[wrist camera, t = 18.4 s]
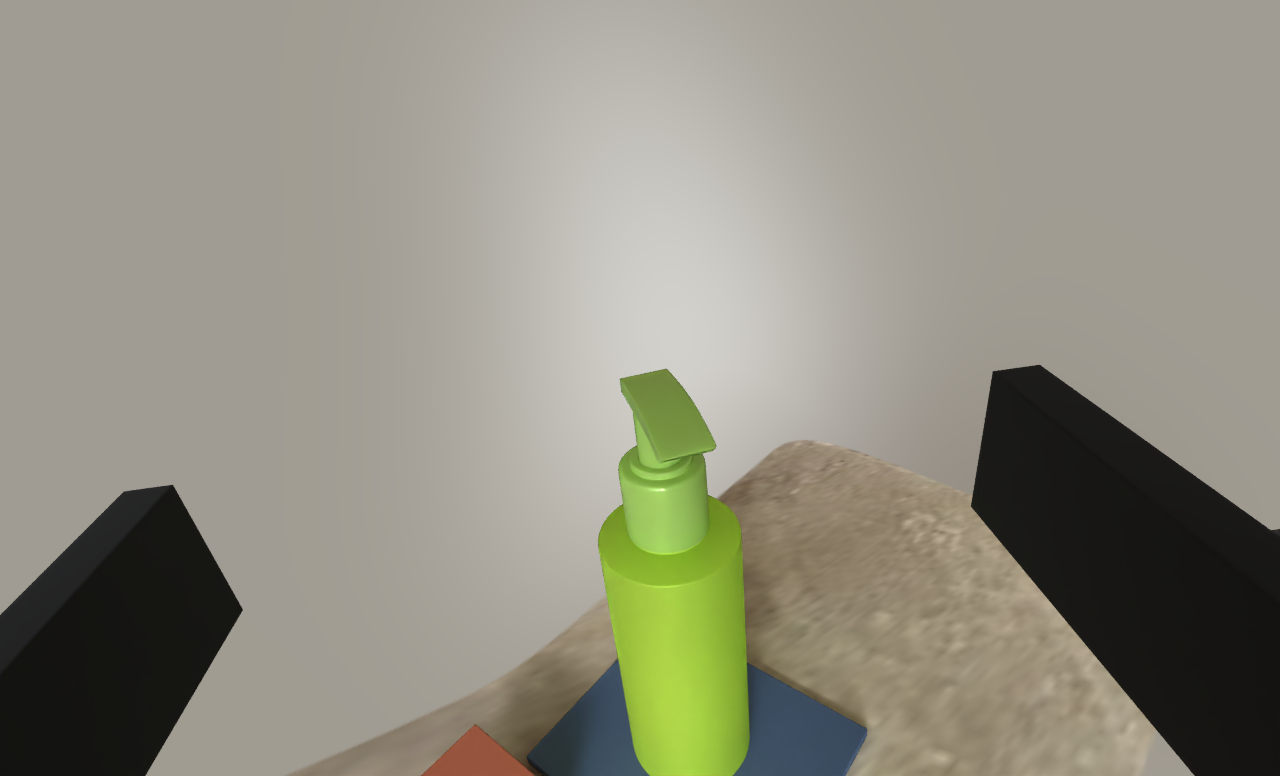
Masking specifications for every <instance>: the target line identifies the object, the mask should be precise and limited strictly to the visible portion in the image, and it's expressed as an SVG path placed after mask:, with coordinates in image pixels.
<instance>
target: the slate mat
mask: <svg viewBox="0 0 1280 776" xmlns="http://www.w3.org/2000/svg"><path fill="white" fill-rule="evenodd" d="M747 681H748V705H749V729H750V741H749V748H748V751H747V754H746V757H745V759H744V761H743V763H742V765H741V766H740V768H739V769H738V770H737V771H736V772H735V773H734V775H732V776H846V774H847V772H848V770H849V768H850V766H851V764H852V762H853V760H854V759H855V757H856V755H857V753H858V751H859V749H860V747H861V745H862V743H863V742H864V740H865V738H866V736H867V729H866V728H864V727H863V726H861V725H859V724H857V723H855V722H854V721H852V720H850V719H848V718H846V717H845V716H843V715H841V714H839V713H837V712H835V711H834V710H832V709H830V708H828V707H826V706H825V705H823V704H821V703H819V702H817V701H816V700H814V699H812V698H810V697H808V696H807V695H805V694H803V693H801V692H799V691H798V690H796V689H794V688H792V687H790V686H789V685H787V684H785V683H783V682H781V681H779V680H778V679H776V678H774V677H772V676H770V675H769V674H767V673H765V672H763V671H761V670H760V669H758V668H756V667H754V666H752V665H751V664H749V663H747ZM527 759H528V762H529V763H530V764H531V765H532V766H534V767H535V768H536V769H537V770H538V771H539V772H541V773H542V774H543V775H544V776H650V775H649V774H648V773H647V772H646V771H645V770H644V768H643V767H642V766H641V764H640V762H639V760H638V758H637V756H636V753H635V750H634V746H633V740H632V735H631V729H630V723H629V718H628V712H627V706H626V701H625V695H624V689H623V684H622V678H621V672H620V667H619V661H618V660H617V661H616V662H615V663H614V664H613V665H612V666H611V667H610V668H609V669H608V670H607V671H606V672H605V673H604V675H603V676H602V677H601V678H600V679H599V680H598V681H597V682H596V683H595V684H594V685H593V686H592V687H591V688H590V689H589V691H588V692H587V693H586V694H585V695H584V696H583V697H582V698H581V699H580V700H579V701H578V702H577V703H576V704H575V705H574V706H573V708H572V709H571V710H570V711H569V712H568V713H567V714H566V715H565V716H564V717H563V718H562V719H561V720H560V721H559V722H558V723H557V725H556V726H555V727H554V728H553V729H552V730H551V731H550V732H549V733H548V734H547V735H546V736H545V737H544V738H543V739H542V740H541V742H540V743H539V744H538V745H537V746H536V747H535V748H534V749H533V750H532V751H531V752H530V753H529V754H528V755H527Z"/></svg>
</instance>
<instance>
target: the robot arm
mask: <svg viewBox="0 0 1280 776" xmlns="http://www.w3.org/2000/svg"><path fill="white" fill-rule="evenodd" d="M971 507H972V508H973V510H974V511H975V512H976V513H977V514H978V516H979V517H980V518H981V519H982V520H983V522H984V523H985V524H986V525H987V526H988V528H989V529H990V530H991V531H992V532H993V534H994V535H995V536H996V537H997V538H998V540H999V541H1000V542H1001V543H1002V544H1003V546H1004V547H1005V548H1006V549H1007V550H1008V552H1009V553H1010V554H1011V555H1012V556H1013V558H1014V559H1015V560H1016V561H1017V562H1018V564H1019V565H1020V566H1021V567H1022V569H1023V570H1024V571H1025V572H1026V573H1027V575H1028V576H1029V577H1030V578H1031V579H1032V581H1033V582H1034V583H1035V584H1036V585H1037V587H1038V588H1039V589H1040V590H1041V591H1042V593H1043V594H1044V595H1045V596H1046V597H1047V599H1048V600H1049V601H1050V602H1051V603H1052V605H1053V606H1054V607H1055V608H1056V609H1057V611H1058V612H1059V613H1060V614H1061V615H1062V617H1063V618H1064V619H1065V620H1066V621H1067V623H1068V624H1069V625H1070V626H1071V627H1072V629H1073V630H1074V631H1075V632H1076V634H1077V635H1078V636H1079V637H1080V638H1081V640H1082V641H1083V642H1084V643H1085V644H1086V646H1087V647H1088V648H1089V649H1090V650H1091V652H1092V653H1093V654H1094V655H1095V656H1096V658H1097V659H1098V660H1099V661H1100V662H1101V664H1102V665H1103V666H1104V667H1105V668H1106V670H1107V671H1108V672H1109V673H1110V674H1111V676H1112V677H1113V678H1114V679H1115V680H1116V682H1117V683H1118V684H1119V685H1120V686H1121V688H1122V689H1123V690H1124V691H1125V692H1126V694H1127V695H1128V696H1129V697H1130V699H1131V700H1132V701H1133V702H1134V703H1135V705H1136V706H1137V707H1138V708H1139V709H1140V711H1141V712H1142V713H1143V714H1144V715H1145V717H1146V718H1147V719H1148V720H1149V721H1150V723H1151V724H1152V725H1153V726H1154V727H1155V729H1156V730H1157V731H1158V732H1159V733H1160V735H1161V736H1162V737H1163V738H1164V739H1165V741H1166V742H1167V743H1168V744H1169V745H1170V747H1171V748H1172V749H1173V750H1174V751H1175V753H1176V754H1177V755H1178V756H1179V757H1180V759H1181V760H1182V761H1183V762H1184V764H1185V765H1186V766H1187V767H1188V768H1189V770H1190V771H1191V772H1192V773H1193V774H1194V775H1195V776H1280V529H1278V530H1270V529H1268V528H1267V527H1266V526H1264V525H1262V524H1261V523H1260V522H1258V521H1257V520H1256V519H1254V518H1253V517H1252V516H1250V515H1249V514H1247V513H1246V512H1245V511H1243V510H1242V509H1240V508H1239V507H1238V506H1236V505H1235V504H1233V503H1232V502H1231V501H1229V500H1228V499H1226V498H1225V497H1223V496H1222V495H1221V494H1219V493H1218V492H1217V491H1215V490H1214V489H1212V488H1211V487H1209V486H1208V485H1207V484H1205V483H1204V482H1203V481H1201V480H1200V479H1198V478H1197V477H1196V476H1194V475H1193V474H1191V473H1190V472H1189V471H1187V470H1186V469H1184V468H1183V467H1182V466H1180V465H1179V464H1177V463H1176V462H1175V461H1173V460H1172V459H1170V458H1169V457H1168V456H1166V455H1165V454H1163V453H1162V452H1161V451H1159V450H1158V449H1157V448H1155V447H1154V446H1152V445H1151V444H1150V443H1148V442H1147V441H1145V440H1144V439H1143V438H1141V437H1140V436H1138V435H1137V434H1136V433H1134V432H1133V431H1131V430H1130V429H1129V428H1127V427H1126V426H1124V425H1123V424H1122V423H1120V422H1119V421H1117V420H1116V419H1115V418H1113V417H1112V416H1110V415H1109V414H1108V413H1106V412H1105V411H1103V410H1102V409H1101V408H1099V407H1098V406H1096V405H1095V404H1093V403H1092V402H1091V401H1089V400H1088V399H1087V398H1085V397H1084V396H1082V395H1081V394H1080V393H1078V392H1077V391H1075V390H1074V389H1073V388H1071V387H1070V386H1068V385H1067V384H1065V383H1064V382H1063V381H1061V380H1060V379H1059V378H1057V377H1056V376H1054V375H1053V374H1052V373H1050V372H1049V371H1048V370H1046V369H1045V368H1043V367H1042V366H1041V365H1035V366H1029V367H1021V368H1013V369H1006V370H1000V371H993V374H992V380H991V386H990V392H989V398H988V405H987V411H986V417H985V423H984V429H983V436H982V442H981V449H980V454H979V460H978V466H977V472H976V478H975V485H974V491H973V497H972V503H971ZM242 610H243V609H242V607H241V606H240V604H239V602H238V600H237V598H236V597H235V595H234V593H233V591H232V590H231V588H230V586H229V585H228V582H227V581H226V579H225V577H224V575H223V573H222V572H221V570H220V568H219V566H218V565H217V563H216V561H215V559H214V557H213V556H212V554H211V552H210V550H209V548H208V547H207V545H206V543H205V541H204V539H203V538H202V536H201V534H200V532H199V531H198V529H197V527H196V525H195V523H194V522H193V520H192V518H191V516H190V515H189V513H188V511H187V509H186V507H185V506H184V504H183V502H182V500H181V498H180V497H179V495H178V493H177V491H176V490H175V488H174V486H173V485H169V486H161V487H154V488H146V489H140V490H132V491H125V492H123V493H122V494H121V495H120V496H119V497H118V498H117V499H116V500H115V501H114V502H113V503H112V504H111V505H110V506H109V507H108V508H107V509H106V510H105V511H104V512H103V513H102V514H101V515H100V516H99V517H98V518H97V519H96V520H95V521H94V522H93V523H92V524H91V525H90V526H89V527H88V528H87V529H86V530H85V531H84V532H83V533H82V534H81V535H80V536H79V537H78V538H77V539H76V540H75V541H74V542H73V543H72V544H71V545H70V546H69V547H68V548H67V549H66V550H65V551H64V552H63V553H62V554H61V555H60V556H59V557H58V558H57V559H56V560H55V561H54V562H53V563H52V564H51V565H50V566H49V567H48V568H47V569H46V570H45V571H44V572H43V573H42V574H41V575H40V576H39V577H38V578H37V579H36V580H35V581H34V582H33V583H32V584H31V585H30V586H29V587H28V588H27V589H26V590H25V591H24V592H23V593H22V594H21V595H20V596H19V597H18V598H17V599H16V600H15V601H14V602H13V603H12V604H11V605H10V606H9V607H8V608H7V609H6V610H5V611H4V612H3V613H2V614H1V615H0V776H145V775H146V774H147V772H148V770H149V768H150V767H151V765H152V763H153V762H154V760H155V758H156V757H157V755H158V753H159V752H160V750H161V748H162V746H163V745H164V743H165V741H166V740H167V738H168V736H169V735H170V733H171V731H172V730H173V728H174V726H175V724H176V723H177V721H178V719H179V718H180V716H181V714H182V713H183V711H184V709H185V707H186V706H187V704H188V702H189V700H190V699H191V697H192V695H193V694H194V692H195V690H196V689H197V687H198V685H199V683H200V682H201V680H202V678H203V677H204V675H205V673H206V672H207V670H208V668H209V667H210V665H211V663H212V661H213V660H214V658H215V656H216V655H217V653H218V651H219V650H220V648H221V646H222V644H223V643H224V641H225V639H226V638H227V636H228V634H229V632H230V631H231V629H232V627H233V626H234V624H235V622H236V621H237V619H238V617H239V616H240V614H241V612H242Z"/></svg>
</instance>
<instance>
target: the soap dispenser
mask: <svg viewBox="0 0 1280 776" xmlns="http://www.w3.org/2000/svg"><path fill="white" fill-rule="evenodd" d="M620 385H621V392H622V393H623V395H624V397H625V398H626V400H627V402H628V404H629V405H630V407H631V409H632V411H633V418H634V425H635V433H636V441H637V446H635V447H633V448H632V449H630V450H629V451H628V452H627V453H626V454H625V455H624V456H623V457H622V459H621V460H620V463H619V469H618V471H619V479H620V485H621V493H622V500H623V504H622V505H621V506H619V507H618V508H617V509H616V510H614V511H613V512H612V513H611V514H610V515H609V516H608V518H607V519H606V521H605V522H604V524H603V525H602V527H601V530H600V533H599V538H598V547H599V553H600V559H601V564H602V570H603V576H604V582H605V587H606V593H607V599H608V604H609V610H610V616H611V621H612V627H613V633H614V638H615V644H616V650H617V655H618V661H619V667H620V672H621V678H622V684H623V689H624V695H625V701H626V706H627V712H628V718H629V723H630V729H631V735H632V740H633V746H634V750H635V753H636V756H637V758H638V760H639V762H640V764H641V766H642V767H643V768H644V770H645V771H646V772H647V773H648V774H649V775H650V776H732V775H734V773H735V772H736V771H737V770H738V769H739V768H740V766H741V765H742V763H743V761H744V759H745V757H746V754H747V751H748V748H749V741H750V729H749V705H748V681H747V656H746V632H745V608H744V584H743V560H742V536H741V527H740V524H739V521H738V519H737V517H736V516H735V514H734V513H733V512H732V510H731V509H730V508H729V507H728V506H726V505H725V504H724V503H722V502H721V501H719V500H718V499H716V498H714V497H712V496H709V495H708V492H707V479H706V465H705V459H704V456H703V454H702V453H706V452H710V451H713V450H714V449H715V448H716V444H715V441H714V439H713V437H712V435H711V433H710V431H709V429H708V427H707V425H706V423H705V421H704V420H703V418H702V416H701V414H700V412H699V411H698V409H697V407H696V406H695V404H694V402H693V401H692V399H691V398H690V396H689V395H688V394H687V392H686V391H685V390H684V388H683V387H682V386H681V385H680V383H679V382H678V381H677V380H676V379H675V377H674V376H673V375H672V374H671V373H670V372H669V371H668V370H667V369H663V370H658V371H653V372H649V373H644V374H640V375H635V376H630V377H626V378H621V379H620Z"/></svg>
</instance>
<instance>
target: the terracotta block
mask: <svg viewBox="0 0 1280 776" xmlns="http://www.w3.org/2000/svg"><path fill="white" fill-rule="evenodd" d="M421 776H535V775H534V774H533V773H532V772H531V771H529V770H528V769H527V768H526V767H525V766H524V765H522V764H521V763H520V762H519V761H518V760H517V759H515V758H514V757H513V756H512V755H511V754H510V753H509V752H507V751H506V750H505V749H504V748H503V747H502V746H500V745H499V744H498V743H497V742H496V741H495V740H493V739H492V738H491V737H490V736H489V735H488V734H487V733H485V732H484V731H483V730H482V729H481V728H480V727H478V726H477V725H476V724H475V725H474V726H473V727H472V728H471V729H469V730H468V731H467V732H466V733H465V734H464V735H463V736H462V737H461V738H460V739H459V740H458V741H457V742H456V743H455V744H454V745H453V746H452V747H451V748H450V749H449V750H447V751H446V752H445V753H444V754H443V755H442V756H441V757H440V758H439V759H438V760H437V761H436V762H435V763H434V764H433V765H432V766H431V767H430V768H429V769H428V770H427V771H426V772H424V773H423V774H422V775H421Z"/></svg>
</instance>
